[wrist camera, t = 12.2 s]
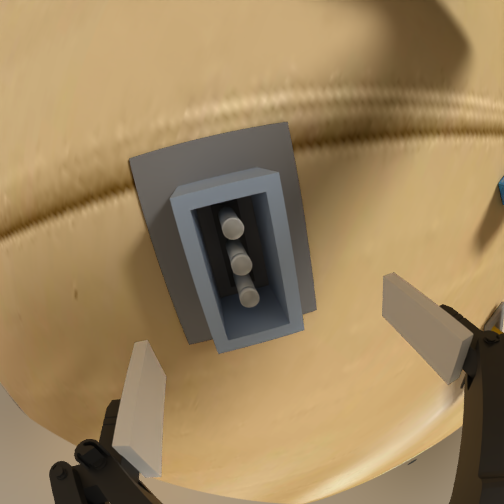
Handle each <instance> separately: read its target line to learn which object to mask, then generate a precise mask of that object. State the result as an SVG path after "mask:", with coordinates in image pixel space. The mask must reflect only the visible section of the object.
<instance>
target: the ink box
mask: <svg viewBox="0 0 504 504" xmlns="http://www.w3.org/2000/svg"><path fill="white" fill-rule="evenodd" d="M498 185H499V189H500V193H501V198H502V203H503V205H504V176H503V178H502V179H501V181H500V182H499V183H498Z"/></svg>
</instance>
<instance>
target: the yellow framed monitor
mask: <svg viewBox="0 0 504 504" xmlns="http://www.w3.org/2000/svg"><path fill="white" fill-rule="evenodd" d="M503 319H504V302H502V303H501V304H500V306H499V307H498V308H497V310H496V311H495V312H494V314H493V315H492V316H491V318H490V319H489V320H488V322H487V323H486V324H485V327H484V331H487V330H490V331H494V332H496V333H498V334H502V333H503V332H502V327H503Z"/></svg>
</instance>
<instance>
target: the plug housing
mask: <svg viewBox="0 0 504 504" xmlns="http://www.w3.org/2000/svg"><path fill="white" fill-rule="evenodd" d="M249 195H251V199H252V204H253V208H254V213H255V218H256V223H257V228H258V233H259V237H260V242H261V247H262V252H263V257H264V262H265V267H266V272H267V277H268V282H269V285H267V286H264V287H260V288H256V290H257V292H258V294H259V298H260V299H259V302H258V304H257V305H255V306H254V307H250V308H248V307H244V306H243V305H242V304H241V302H240V299H239V294H238V293H237V294H234V295H230V296H226V297H222V298H220V295H219V292H218V289H217V285H216V282H215V278H214V275H213V271H212V267H211V264H210V260H209V257H208V253H207V249H206V246H205V242H204V238H203V235H202V231H201V227H200V223H199V219H198V215H197V212H196V209H197V208H201V207H204V206H208V205H212V204H216V203H220V202H224V201H228V200H233V199H237V198H241V197H245V196H249ZM170 201H171V205H172V209H173V213H174V216H175V220H176V223H177V227H178V231H179V234H180V238H181V241H182V244H183V248H184V251H185V255H186V258H187V261H188V264H189V268H190V271H191V274H192V277H193V281H194V284H195V287H196V290H197V293H198V296H199V299H200V302H201V305H202V308H203V311H204V314H205V317H206V320H207V323H208V326H209V329H210V332H211V335H212V337H213V340H214V343H215V346H216V349H217V351H218V354H220V353H224V352H228V351H232V350H236V349H240V348H244V347H248V346H251V345H255V344H259V343H262V342H266V341H269V340H273V339H276V338H280V337H283V336H286V335H290V334H293V333H296V332H299V331H303V330H304V323H303V316H302V309H301V302H300V295H299V288H298V281H297V275H296V268H295V262H294V255H293V249H292V243H291V237H290V231H289V225H288V219H287V214H286V208H285V202H284V197H283V191H282V186H281V181H280V175H279V172H276V171H271V170H267V169H263V168H258V167H256V168H251V169H247V170H242V171H238V172H233V173H229V174H225V175H221V176H216V177H212V178H208V179H204V180H200V181H196V182H192V183H189V184H185V185H181V186H178V187H177V188H176V190H175V191H174V193H173V194H172V196H171V197H170Z"/></svg>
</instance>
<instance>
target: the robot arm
mask: <svg viewBox="0 0 504 504" xmlns="http://www.w3.org/2000/svg"><path fill="white" fill-rule="evenodd" d="M382 316H383V317H384V318H385V319H386V320H387V321H388V322H389V323H390V324H391V325H392V326H393V327H394V328H395V329H396V330H397V331H398V332H399V333H400V334H401V336H402V337H403V338H404V339H405V340H406V341H407V342H408V343H409V344H410V345H411V346H412V347H413V348H414V349H415V350H416V351H417V352H418V353H419V354H420V355H421V356H422V357H423V359H424V360H425V361H426V362H427V363H428V364H429V365H430V366H431V367H432V368H433V369H434V370H435V371H436V372H437V374H438V375H439V376H440V377H441V378H442V379H443V380H444V381H445V382H446V383H447V385H449V384H450V383H452V382H453V381H455V380H456V379H458V378H459V376H460V374H461V371H462V369H463V370H464V371H465V372H466V374H465V377H464V379H463V382H462V384H461V388H463V386H464V384H465V390H464V415H463V428H462V439H461V446H460V454H459V461H458V466H457V473H456V478H455V482H454V487H453V492H452V496H451V500H450V502H449V504H504V333H502V334H498V333H496V332H494V331H490V330H487V331H483V332H482V331H481V330H480V329H478V328H477V327H476V326H475V325H473V324H472V323H471V322H470V321H468V320H467V319H466V318H463V316H462V315H461V314H458V312H457V311H455V310H454V309H453V308H451V307H449V306H446V305H443V304H442V305H440V306H438V305H437V304H436V303H434V302H433V301H432V300H431V299H429V298H428V297H427V296H425V295H424V294H423V293H421V292H420V291H419V290H417V289H416V288H415V287H413V286H412V285H411V284H409V283H408V282H407V281H405V280H404V279H403V278H401V277H400V276H398V275H397V274H396V273H394V272H393V273H390V274H387V275H385V276H383V305H382ZM165 388H166V375H165V373H164V371H163V369H162V367H161V365H160V363H159V361H158V360H157V358H156V356H155V354H154V352H153V350H152V348H151V346H150V344H149V341H148V340H144V341H139V342H135V343H134V347H133V351H132V355H131V359H130V363H129V367H128V371H127V375H126V379H125V383H124V388H123V392H122V397H121V399H119V400H112V401H111V403H110V404H109V406H108V407H107V409H106V413H105V419H104V422H103V426H102V431H101V435H100V440H99V442H98V441H96V440H93V439H86V440H84V441H82V442H81V443H80V444H79V445H77V447H76V449H75V453H74V456H75V459H76V461H77V462H79V463H80V465H76V466H71V465H69V464H68V463H67V462H64V461H60V462H57V463H55V464H54V465H53V466H52V467H51V469H50V473H49V477H50V482H51V487H52V492H53V496H54V500H55V504H162V503H161V502H160V501H159V500H158V499H157V498H156V497H155V496H154V495H153V493H151V491H150V490H149V489H148V488H147V487H146V486H145V485H144V484H143V483H142V482H141V481H140V480H139V472H140V473H141V474H142V475H143V476H144V477H161V476H162V437H163V417H164V401H165ZM109 502H110V503H109Z"/></svg>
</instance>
